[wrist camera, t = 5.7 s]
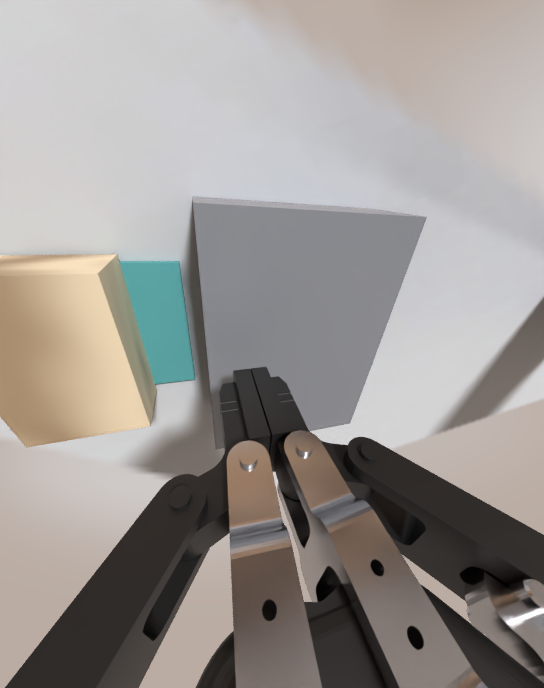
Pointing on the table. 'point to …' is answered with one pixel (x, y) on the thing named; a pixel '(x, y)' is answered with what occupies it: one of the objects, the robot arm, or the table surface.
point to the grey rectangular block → (299, 296)
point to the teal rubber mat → (161, 317)
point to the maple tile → (70, 349)
